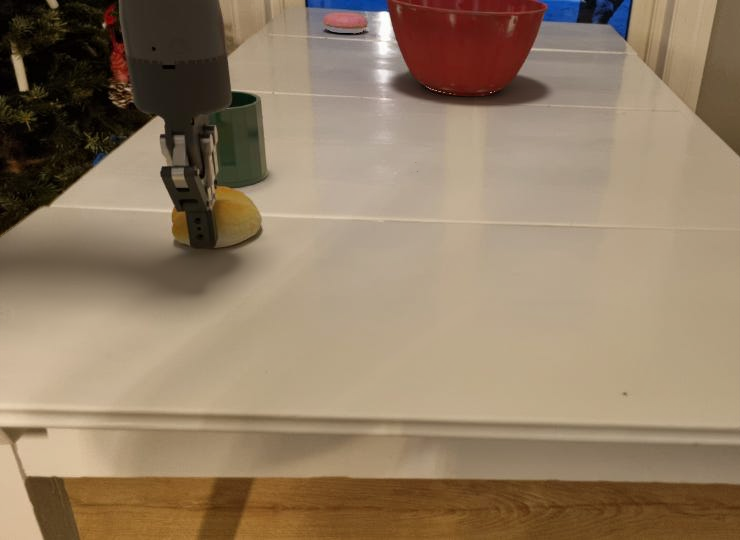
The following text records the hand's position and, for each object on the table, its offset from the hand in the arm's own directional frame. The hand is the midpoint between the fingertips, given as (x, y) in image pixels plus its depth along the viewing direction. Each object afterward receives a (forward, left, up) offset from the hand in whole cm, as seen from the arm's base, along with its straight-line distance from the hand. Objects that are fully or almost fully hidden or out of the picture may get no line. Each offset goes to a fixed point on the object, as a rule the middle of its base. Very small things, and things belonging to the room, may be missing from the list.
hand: (204, 245), depth 64 cm
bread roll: (-2, +6, -2) cm, 6 cm away
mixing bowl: (+12, +75, -2) cm, 76 cm away
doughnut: (-25, +123, -2) cm, 125 cm away
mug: (-9, +21, -1) cm, 23 cm away
